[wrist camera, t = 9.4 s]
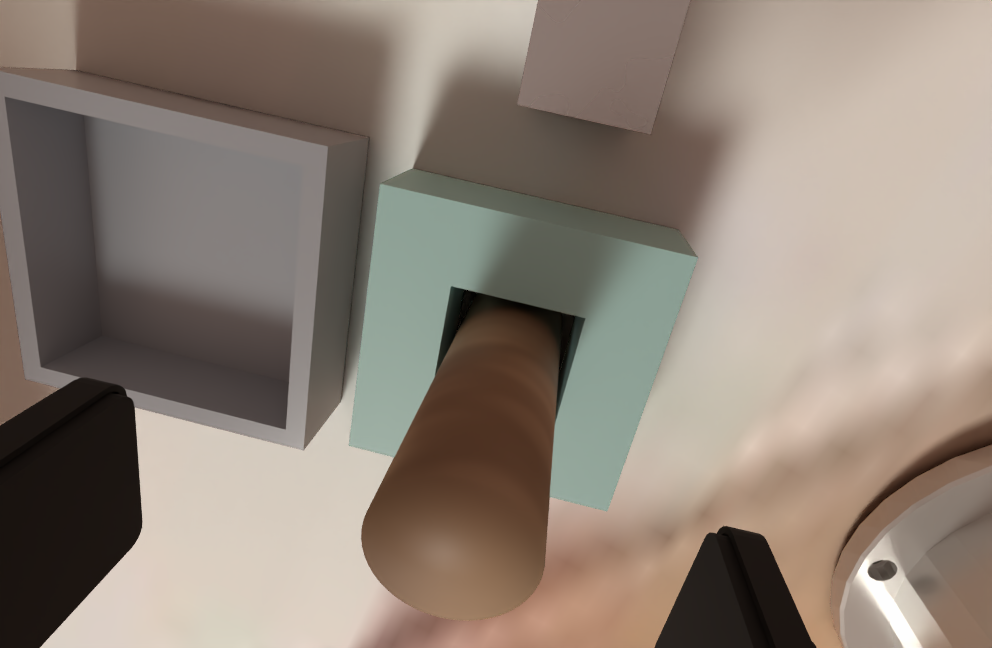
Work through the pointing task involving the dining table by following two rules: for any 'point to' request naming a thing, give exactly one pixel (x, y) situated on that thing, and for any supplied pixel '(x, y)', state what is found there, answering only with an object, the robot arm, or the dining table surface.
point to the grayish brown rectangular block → (602, 59)
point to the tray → (180, 249)
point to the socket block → (526, 279)
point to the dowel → (474, 471)
